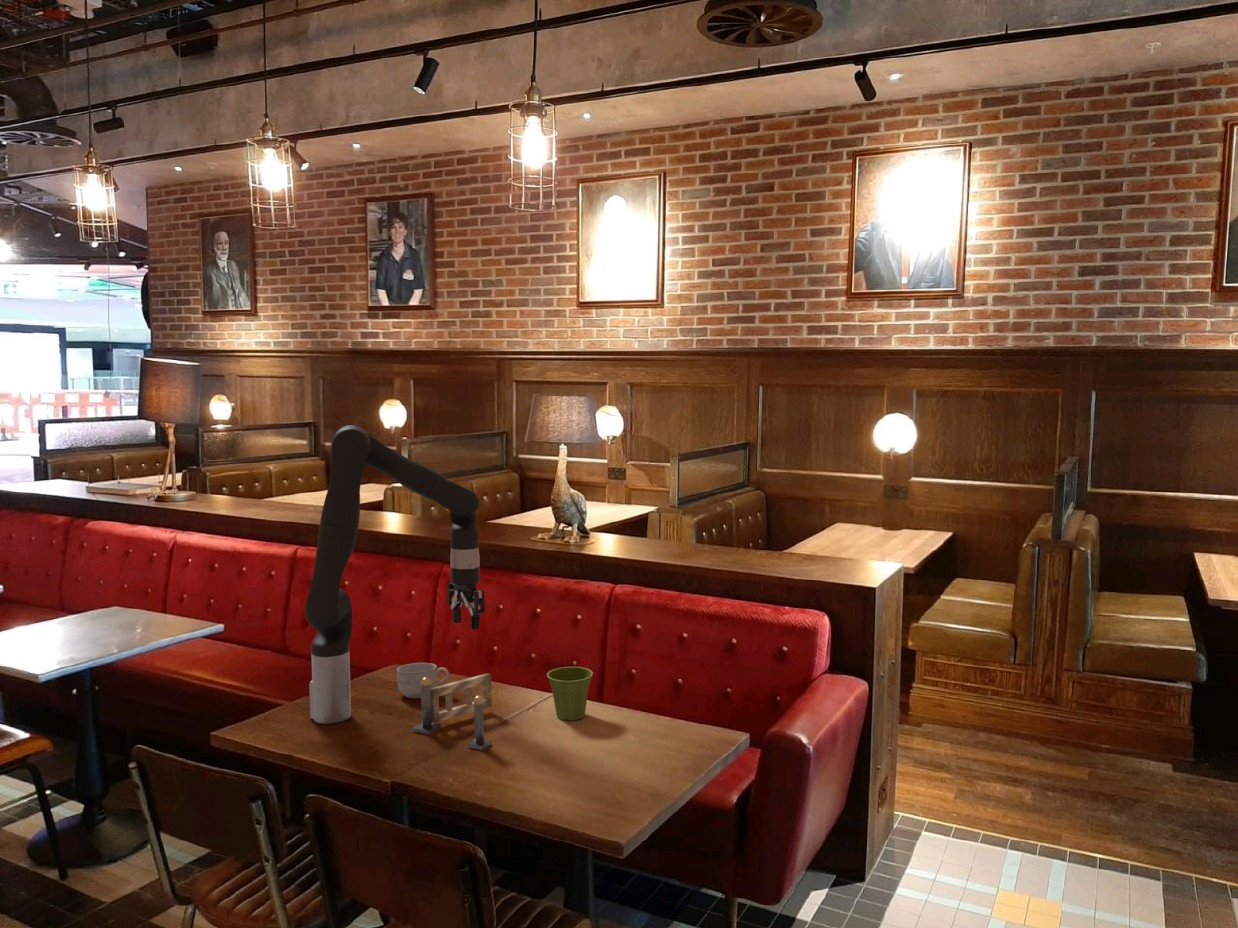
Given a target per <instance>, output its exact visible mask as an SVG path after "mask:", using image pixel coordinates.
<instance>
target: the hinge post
mask: <svg viewBox="0 0 1238 928" xmlns="http://www.w3.org/2000/svg"><path fill="white" fill-rule="evenodd" d="M420 699H421V703H420V704H421V723H419V724H417V725H414V726H413V727H412V728H411V731H412V732H413V733H417V734H421V735H425V736H430V735H432V734H434V733H436V732H437V731H439V730H441V729H442V724H440V723H438V722H437V723H432V709H431V679H430V678H428V677H425V678H423V679H422V680H421V698H420Z"/></svg>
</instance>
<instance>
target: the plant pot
mask: <svg viewBox="0 0 1238 928" xmlns="http://www.w3.org/2000/svg"><path fill="white" fill-rule="evenodd" d="M593 675H594V672H593V671H592V670H591V669H589V668H586V667H581V666H565V667H564V666H563V667H557V668H555V669H551V670H549V671H548V672H547V673H546V677H547V678H548V679H549V685H550V687H551V692H552V697H553V698H552V699H553V703H554V709H555V712H556V717H557V718H558V719H559V720H563V721H565V720H568V721H577V720H581V719H583V717H584V716H586V709H587V701H588V695H589V693H588V692H589V687H590V685H591V679H592V677H593Z"/></svg>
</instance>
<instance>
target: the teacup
mask: <svg viewBox="0 0 1238 928" xmlns="http://www.w3.org/2000/svg"><path fill="white" fill-rule="evenodd" d="M437 666H438V665H436V664H435V663H429V662H414V663H413V662H412V663H407V664H403V665H400V666H398V667H397V668H396V673H397V687H398V691H399V692H400V693H401V694H402V695H404V697H406V698H409V699H421V680H422V679H423V678H425V677H428V678H430V679H431V688H433V687H437V686H441V685H444V683H445V682H447V680H448V679H449V676H450V672H449V670H448V668H446V667H442V666H441V667H437ZM440 672H443V673H444V674H445V675H444V677H443V679H441V680H439V681H437V680H438V679H437V678H438V677H439V673H440Z"/></svg>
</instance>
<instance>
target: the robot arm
mask: <svg viewBox="0 0 1238 928" xmlns="http://www.w3.org/2000/svg"><path fill="white" fill-rule="evenodd" d="M330 449H331V450H330V451H331V452H330V453H331V455H330V475H329V483H328V486H327V487H328V488H327V491H326V495H325V499H324V502H323V507H322V510H321V511H322V512H321V517H320V521H319V528H318V534H317V535H318V536H317V537H318V538H317V546H316V550H315V551H316V552H315V559H314V567H313V573H312V578H311V581H310V586H309V590H308V592H307V593H308V594H307V598H306V601H305V606H304V615H305V619H306V621H307V622H308V624H309V625H310V626H311V627H312V628H313V629H315V630H316V632H315V633H316V634H315V636H314V637H313V640H312V641H311V645H310V647H311V648H310V652H311V653H310V655H311V681H310V682H309V688H308V689H309V714H310V716H309V717H310V719H312V720H313V721H314V722H315V723H318V724H325V725H326V724H329V725H331V724H337V723H340V722H345V721H346V720H349V719H350V718H351V717H352V701H351V699H352V698H351V672H350V671H351V665H350V664H351V663H350V644H351V643H350V642H351V640H352V634H353V606H352V600H351V598H350V595H349V594H348V593H347V591H345V590H344V589H342V588H341V583H342V578H343V574H344V571H345V569H346V567H347V566H348V563H349V560H350V559H351V557H352V554H353V551H354V549H355V546H356V543H357V538H358V531H359V525H360V515H361V483H362V478H363V475H364V470H365V466H369V467H371V468H374V469H375V470H377V471H379V472H381V473H383V474H385V475H386V476H388V477H389V478H391V479H393V480H394V481H395V482H397V483H398V484H400V485H401V486H402V487H405V488H406V489H408V490H409V491H412V492H414V493H416V494H418V495H419V496H421V497H423V498H426V499H427V500H431V501H432V502H435V503H437V504H438V505H440V506H441V507H444V508H445V509H446V510H448V511H449V517H450V518H449V519H450V525H451V528H450V554H449V555H450V556H449V557H450V558H449V561H450V562H449V564H450V566H449V567H450V568H449V569H450V571H449V572H450V582H449V583H447V587H446V589H447V592H446V594H447V595H446V604H447V606H450V609H451V610H452V623H453V624H460V623H461V622H462V605H464V606H465V608H466V609H468V611H469V613H470V630H472V631H476V630H480V624H481V623H480V622H481V621H480V615H482V614H485V613H486V602H485V591H484V590H483V589H481V590H480V589H479V590H477V584H479V583H480V582H481V569H480V566H481V563H480V562H481V560H480V559H481V557H480V550H479V529H478V526H477V511H478V509H479V507H480V501H479V497H478V495H477V494H476V493H475V492H474V490H473V489H471V488H470V487H466V486H461V485H460V484H457V483H455V482H453V481H451V480H449V479H448V478H446V477H445V476H444V475H443V474H441V473H439V472H437V471H434V470H433V469H431V468H429V467H427V466H425V465H423V464H421V463H419V462H417V461H415V460H413V459H410V458H409V457H406V456H404V455H403V454H400V453H399V452H397V451H395V450H393V449H392V448H389V447H388V446H387V445H385V444H383V443H382V442H381V441H379V440H378V439H376V438H375V437H374V436H372V435H371V434H370V433H368V432H367V431H366V430H365V429H364V428H362V427H361V426H358V425H354V424H353V425H352V424H351V425H350V424H349V425H345V426H343V427H341V428H339V429H338V430H337V431H336V433H334V435H333V437H332V439H331V443H330Z"/></svg>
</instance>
